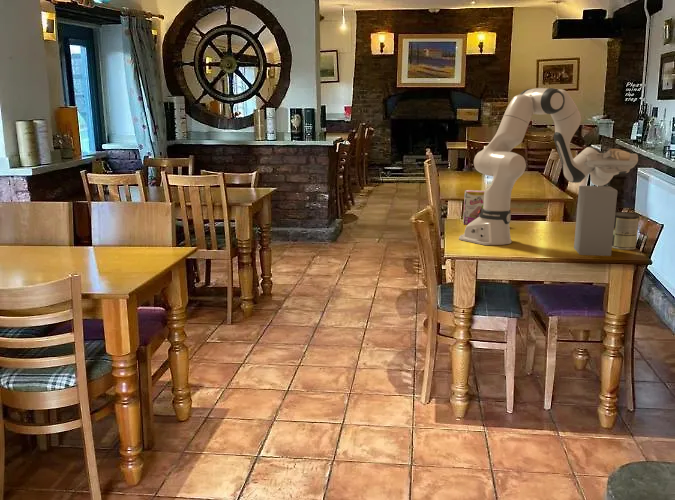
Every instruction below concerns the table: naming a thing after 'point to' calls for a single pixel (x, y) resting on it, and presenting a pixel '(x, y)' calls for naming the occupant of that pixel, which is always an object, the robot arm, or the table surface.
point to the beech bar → (620, 154)
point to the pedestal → (595, 220)
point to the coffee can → (625, 230)
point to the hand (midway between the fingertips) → (616, 152)
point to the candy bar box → (472, 205)
